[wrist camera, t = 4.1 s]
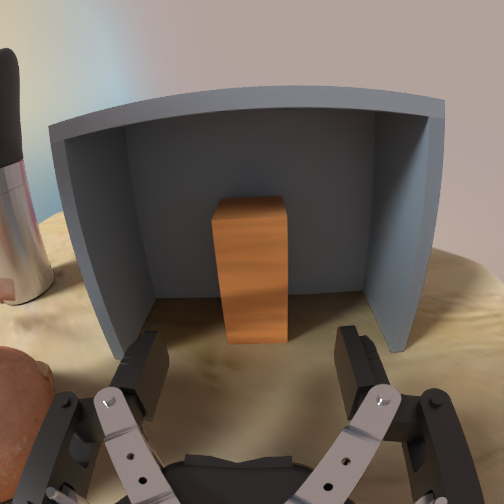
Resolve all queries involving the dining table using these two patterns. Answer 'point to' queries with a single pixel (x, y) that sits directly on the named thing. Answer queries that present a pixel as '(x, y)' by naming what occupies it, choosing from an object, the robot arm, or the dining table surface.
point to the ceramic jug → (19, 405)
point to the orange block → (252, 268)
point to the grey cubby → (253, 194)
